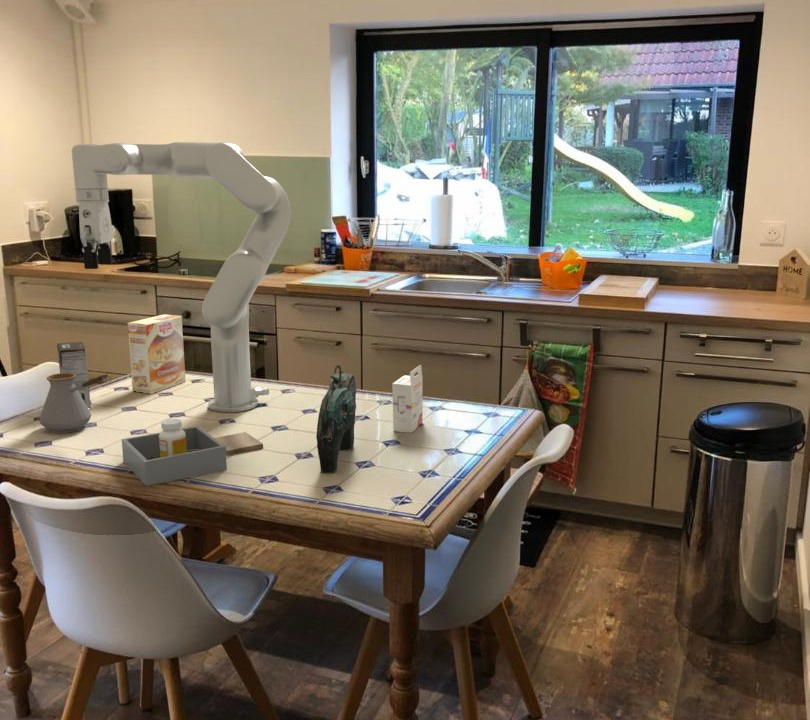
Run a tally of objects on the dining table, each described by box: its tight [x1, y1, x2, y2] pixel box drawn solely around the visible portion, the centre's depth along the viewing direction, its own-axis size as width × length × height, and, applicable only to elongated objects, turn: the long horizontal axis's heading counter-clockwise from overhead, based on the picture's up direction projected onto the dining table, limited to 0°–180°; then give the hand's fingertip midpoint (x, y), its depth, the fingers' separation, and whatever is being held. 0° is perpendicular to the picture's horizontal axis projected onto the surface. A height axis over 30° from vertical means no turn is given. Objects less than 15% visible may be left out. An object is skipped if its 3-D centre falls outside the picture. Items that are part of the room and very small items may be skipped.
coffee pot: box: [39, 373, 112, 434], centre depth 198 cm, size 21×12×15 cm, turn 62°
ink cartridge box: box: [391, 364, 424, 434], centre depth 200 cm, size 9×5×15 cm, turn 161°
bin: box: [121, 425, 228, 487], centre depth 176 cm, size 17×17×5 cm
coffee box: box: [56, 341, 92, 409], centre depth 219 cm, size 9×6×16 cm
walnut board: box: [214, 431, 264, 456], centre depth 189 cm, size 10×10×1 cm
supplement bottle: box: [158, 418, 188, 458], centre depth 176 cm, size 5×5×10 cm
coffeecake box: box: [127, 313, 186, 395], centre depth 237 cm, size 15×7×20 cm, turn 155°
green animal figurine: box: [315, 364, 357, 474], centre depth 179 cm, size 20×6×20 cm, turn 170°
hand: (98, 266), depth 211 cm, fingers open, 9 cm apart
